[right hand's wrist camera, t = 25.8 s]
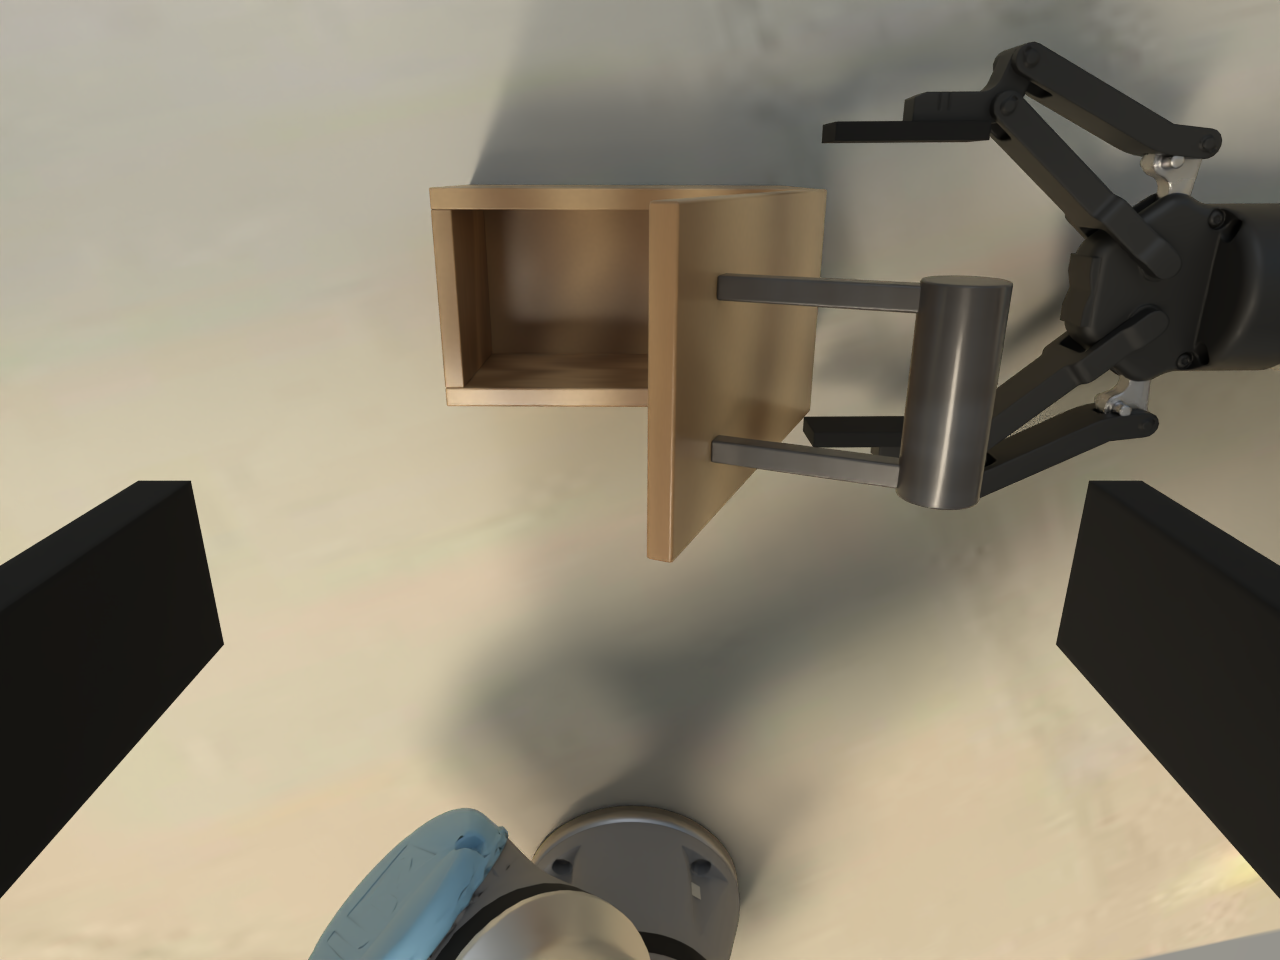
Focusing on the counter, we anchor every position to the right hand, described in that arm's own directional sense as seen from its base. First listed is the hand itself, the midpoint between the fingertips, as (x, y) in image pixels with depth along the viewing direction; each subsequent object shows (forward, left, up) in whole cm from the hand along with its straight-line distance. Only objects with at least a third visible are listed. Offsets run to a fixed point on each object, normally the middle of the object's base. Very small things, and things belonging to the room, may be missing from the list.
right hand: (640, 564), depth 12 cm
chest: (0, +1, -35) cm, 35 cm away
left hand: (+5, -7, -28) cm, 29 cm away
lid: (+2, -3, -18) cm, 18 cm away
